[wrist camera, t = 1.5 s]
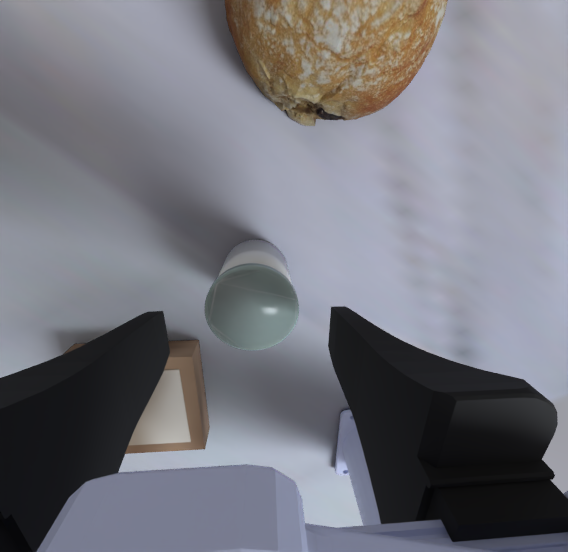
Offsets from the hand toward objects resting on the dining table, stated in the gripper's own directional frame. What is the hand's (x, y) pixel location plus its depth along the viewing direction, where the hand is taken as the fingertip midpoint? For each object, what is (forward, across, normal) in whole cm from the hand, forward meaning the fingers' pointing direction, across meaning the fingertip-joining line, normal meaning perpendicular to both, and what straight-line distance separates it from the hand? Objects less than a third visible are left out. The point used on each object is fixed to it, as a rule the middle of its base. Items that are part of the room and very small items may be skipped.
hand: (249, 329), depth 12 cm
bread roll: (+8, -4, -14) cm, 17 cm away
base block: (+8, +9, +10) cm, 16 cm away
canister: (+8, 0, 0) cm, 8 cm away
